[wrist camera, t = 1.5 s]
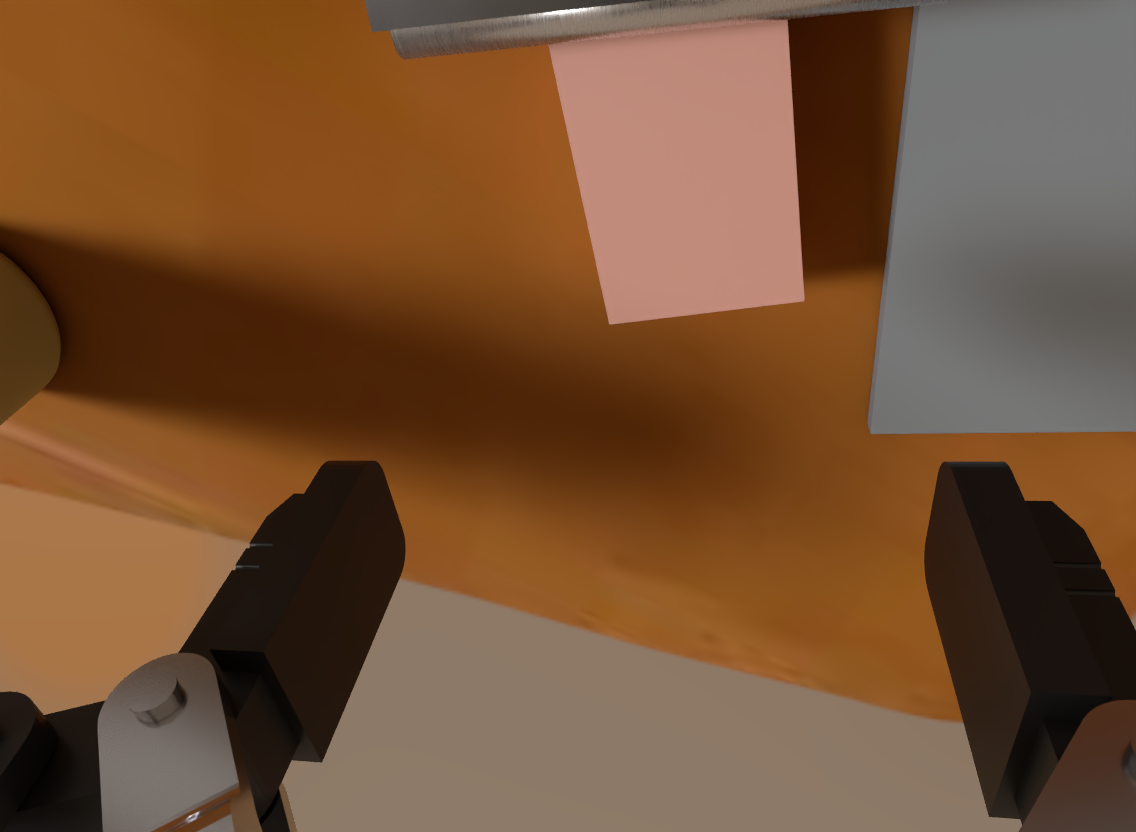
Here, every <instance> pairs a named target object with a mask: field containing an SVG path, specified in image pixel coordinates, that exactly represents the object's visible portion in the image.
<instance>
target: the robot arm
mask: <svg viewBox="0 0 1136 832" xmlns="http://www.w3.org/2000/svg"><path fill="white" fill-rule="evenodd" d="M404 561H405V537H404V533H403V529H402V526H401V523H400V520H399V517H398V514H397V511H396V508H395V505H394V502H393V499H392V496H391V493H390V490H389V487H388V484H387V481H386V478H385V475H384V472H383V469H382V467H381V466H380V464H379V463H378V462H376V461H327V462H325V463H324V464H323V465H322V466H321V468H320V469H319V471H318V472H317V474H316V475H315V477H314V479H313V480H312V482H311V484H310V485H309V487H308V488H307V490H306V492H305V493H304V494H293V495H292V496H291V497H289V498H288V499H287V500H286V501H285V502H284V503H282V504H281V505H280V506H279V507H278V508H276V509H275V510H274V511H273V512H272V513H271V514H269V515H268V516H267V517H266V519H265V520H264V522H263V523H262V525H261V526H260V528H259V529H258V531H257V532H256V534H255V536H254V537H253V539H252V540H251V542H250V548H246V549H245V551H244V552H243V554H242V556H241V557H240V559H239V560H238V562H237V564H236V569H235V570H232V571H231V573H230V574H229V576H228V577H227V579H226V581H225V582H224V583H223V585H222V587H221V588H220V590H219V591H218V593H217V594H216V596H215V597H214V599H213V600H212V602H211V603H210V605H209V607H208V608H207V610H206V611H205V613H204V614H203V616H202V617H201V619H200V621H199V622H198V624H197V625H196V627H195V628H194V630H193V631H192V633H191V634H190V636H189V638H188V639H187V641H186V642H185V644H184V645H183V647H182V648H181V650H180V651H179V652H178V653H176V654H170V655H166V656H162V657H160V658H157V659H155V660H152V661H150V662H149V663H147V664H144V665H143V666H141V667H139V668H138V669H136V670H135V671H133V672H132V673H131V674H129V675H128V676H127V677H126V678H124V680H122V681H121V682H120V683H119V684H118V685H117V686H116V687H115V688H114V690H113V691H112V692H111V693H110V695H109V696H108V698H107V699H106V700H105V701H101V702H97V703H93V704H89V705H85V706H81V707H77V708H72V709H68V710H64V711H59V712H55V713H51V714H47V715H43V713H42V712H41V711H40V710H39V709H38V707H37V706H36V705H35V704H34V703H33V701H32V700H31V699H30V698H29V697H27V696H26V695H24V694H22V693H18V692H0V832H297V829H296V825H295V822H294V818H293V814H292V810H291V807H290V803H289V799H288V795H287V792H286V789H285V787H284V785H283V783H282V780H283V778H284V775H285V773H286V771H287V769H288V767H289V764H290V762H291V760H297V761H310V762H322V761H323V759H324V756H325V754H326V752H327V749H328V747H329V744H330V742H331V740H332V737H333V735H334V733H335V730H336V728H337V725H338V723H339V721H340V718H341V716H342V713H343V711H344V709H345V706H346V704H347V701H348V699H349V697H350V695H351V692H352V690H353V687H354V685H355V683H356V680H357V678H358V676H359V673H360V671H361V668H362V666H363V664H364V661H365V659H366V657H367V654H368V652H369V649H370V647H371V645H372V642H373V640H374V637H375V635H376V633H377V630H378V628H379V626H380V623H381V621H382V619H383V616H384V614H385V611H386V609H387V606H388V604H389V602H390V599H391V597H392V595H393V592H394V590H395V588H396V585H397V583H398V581H399V578H400V576H401V573H402V570H403V566H404ZM924 564H925V577H926V584H927V589H928V593H929V596H930V600H931V604H932V607H933V611H934V615H935V619H936V622H937V626H938V630H939V633H940V637H941V641H942V645H943V648H944V652H945V656H946V659H947V663H948V667H949V670H950V674H951V678H952V682H953V685H954V689H955V693H956V696H957V700H958V704H959V707H960V711H961V715H962V719H963V722H964V726H965V730H966V733H967V737H968V741H969V745H970V748H971V752H972V756H973V759H974V763H975V767H976V770H977V774H978V778H979V782H980V785H981V789H982V793H983V796H984V800H985V804H986V807H987V811H988V815H989V817H999V818H1014V819H1021V822H1022V827H1021V829H1020V830H1019V832H1136V630H1135V628H1134V626H1133V624H1132V622H1131V620H1130V618H1129V616H1128V614H1127V612H1126V610H1125V608H1124V607H1123V605H1122V603H1121V601H1120V599H1119V597H1116V596H1115V589H1114V587H1113V585H1112V583H1111V581H1110V579H1109V577H1108V575H1107V573H1106V571H1105V569H1101V562H1100V560H1099V558H1098V556H1097V554H1096V552H1095V550H1094V548H1093V546H1092V544H1091V542H1090V540H1089V538H1088V536H1087V534H1086V532H1085V530H1084V529H1083V528H1082V527H1080V526H1079V525H1078V524H1077V523H1076V522H1075V521H1074V520H1073V519H1071V518H1070V517H1069V516H1068V515H1067V514H1066V513H1065V512H1063V511H1062V510H1061V509H1060V508H1059V507H1058V506H1057V505H1055V504H1054V503H1053V502H1052V501H1025V500H1024V498H1023V495H1022V493H1021V491H1020V489H1019V486H1018V484H1017V482H1016V480H1015V478H1014V475H1013V473H1012V471H1011V469H1010V467H1009V466H1008V464H1007V463H1005V462H943V463H942V464H941V466H940V469H939V472H938V477H937V482H936V488H935V493H934V499H933V504H932V509H931V515H930V520H929V526H928V531H927V537H926V543H925V554H924Z"/></svg>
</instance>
